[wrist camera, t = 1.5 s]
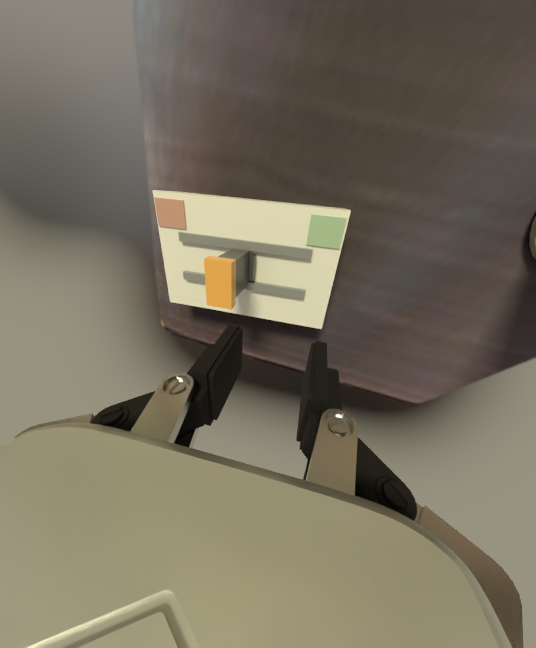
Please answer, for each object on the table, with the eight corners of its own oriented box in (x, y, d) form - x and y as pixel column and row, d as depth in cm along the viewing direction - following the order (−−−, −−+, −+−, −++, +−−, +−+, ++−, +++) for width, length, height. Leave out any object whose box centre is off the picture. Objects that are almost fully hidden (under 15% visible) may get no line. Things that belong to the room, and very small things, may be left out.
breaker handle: (256, 247, 25) (234, 263, 19) (254, 284, 28) (234, 310, 21) (230, 243, 26) (200, 258, 20) (230, 281, 28) (203, 304, 22)
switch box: (346, 208, 26) (351, 210, 21) (321, 312, 33) (321, 331, 28) (177, 191, 29) (148, 189, 24) (188, 289, 36) (167, 303, 32)
